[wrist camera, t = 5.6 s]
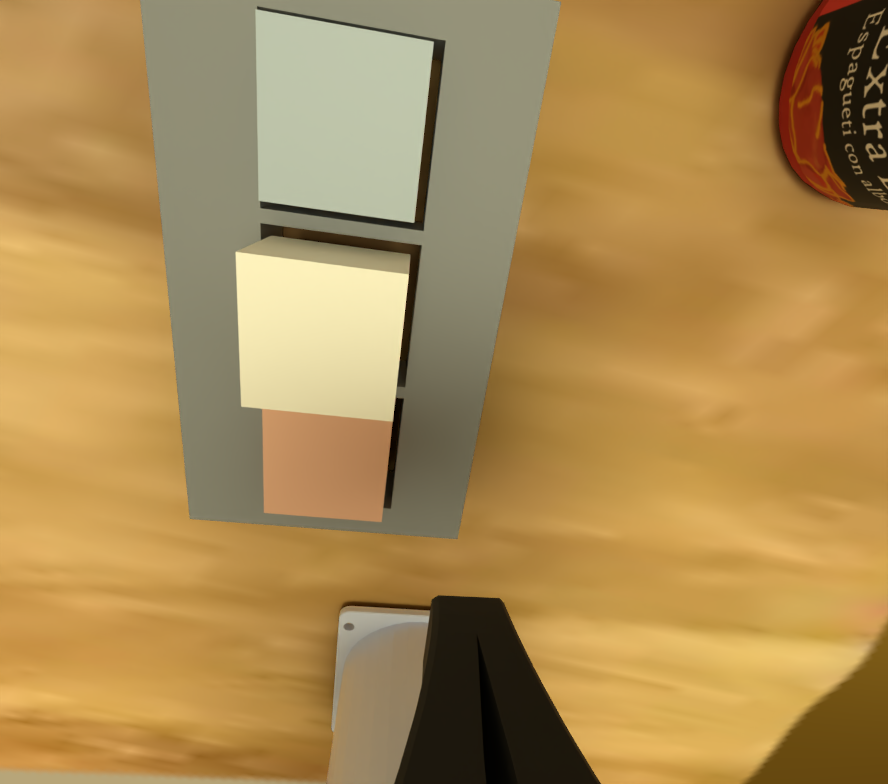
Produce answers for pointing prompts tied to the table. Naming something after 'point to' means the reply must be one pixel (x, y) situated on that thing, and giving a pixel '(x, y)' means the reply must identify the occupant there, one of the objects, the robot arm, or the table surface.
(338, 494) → the key terracotta
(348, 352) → the key ivory
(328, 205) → the key slate
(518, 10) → the keypad base
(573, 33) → the table surface
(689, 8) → the table surface
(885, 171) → the canned food
